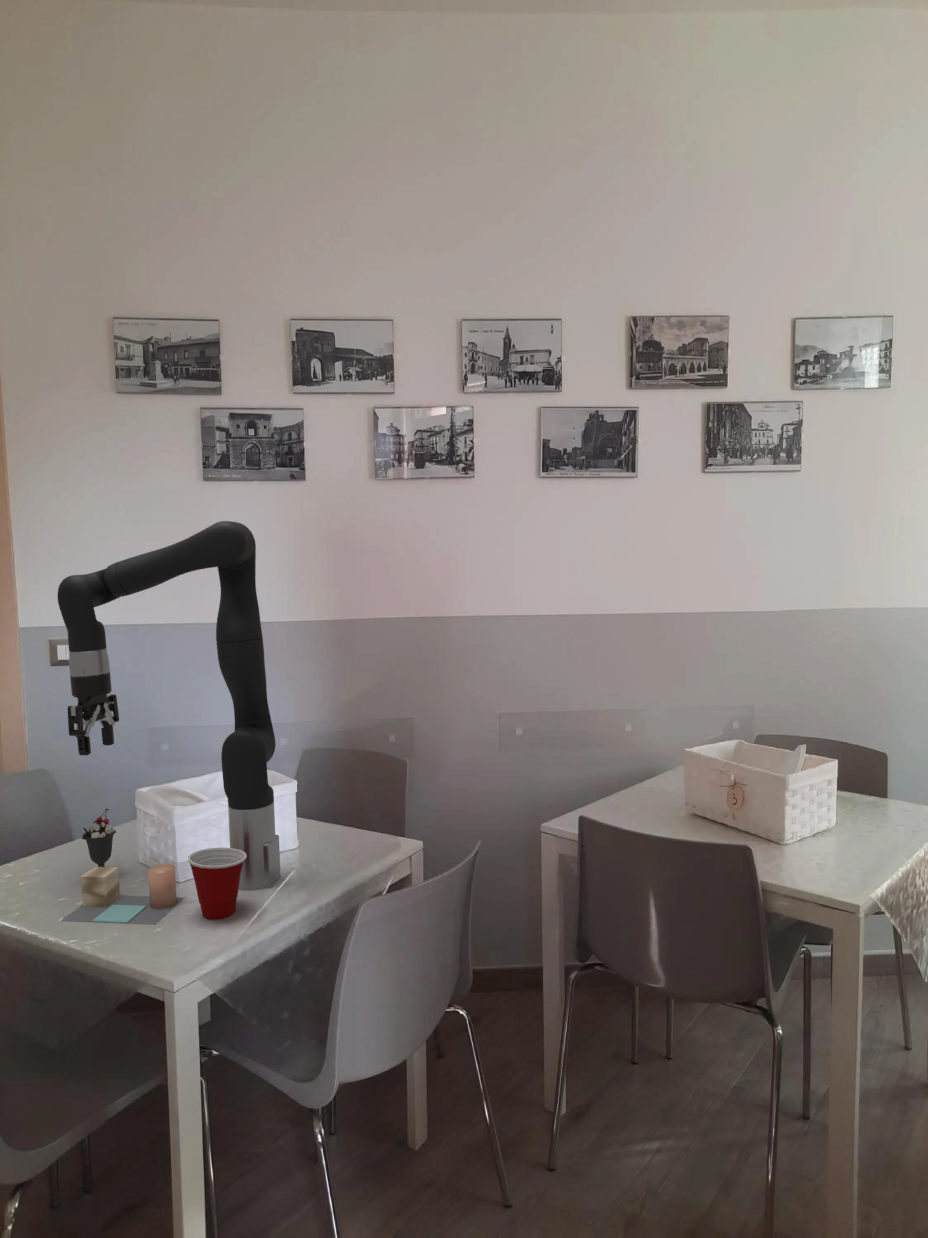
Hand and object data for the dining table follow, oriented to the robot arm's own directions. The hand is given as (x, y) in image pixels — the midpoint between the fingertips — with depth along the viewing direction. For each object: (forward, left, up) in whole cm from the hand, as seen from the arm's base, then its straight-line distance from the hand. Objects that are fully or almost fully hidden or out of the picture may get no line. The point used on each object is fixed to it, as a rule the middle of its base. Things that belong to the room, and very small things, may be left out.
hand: (97, 749), depth 173 cm
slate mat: (-11, +12, -29) cm, 33 cm away
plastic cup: (-30, +12, -29) cm, 44 cm away
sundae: (+3, -3, -29) cm, 30 cm away
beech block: (-4, +9, -29) cm, 30 cm away
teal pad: (-11, +14, -29) cm, 34 cm away
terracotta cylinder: (-17, +9, -29) cm, 34 cm away
